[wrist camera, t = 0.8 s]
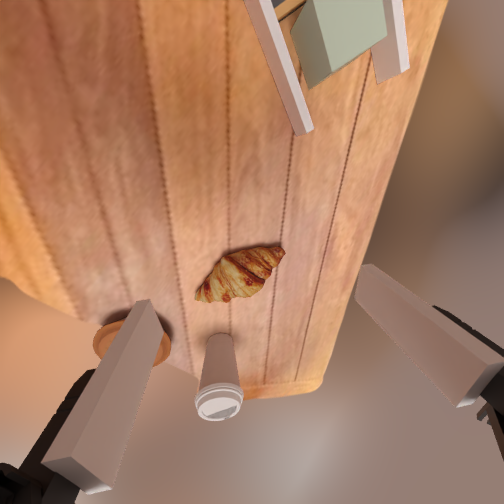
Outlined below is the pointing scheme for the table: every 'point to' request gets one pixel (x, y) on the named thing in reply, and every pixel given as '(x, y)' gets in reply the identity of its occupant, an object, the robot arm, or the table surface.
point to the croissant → (240, 274)
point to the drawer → (286, 7)
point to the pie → (110, 331)
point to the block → (335, 35)
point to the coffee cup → (219, 381)
